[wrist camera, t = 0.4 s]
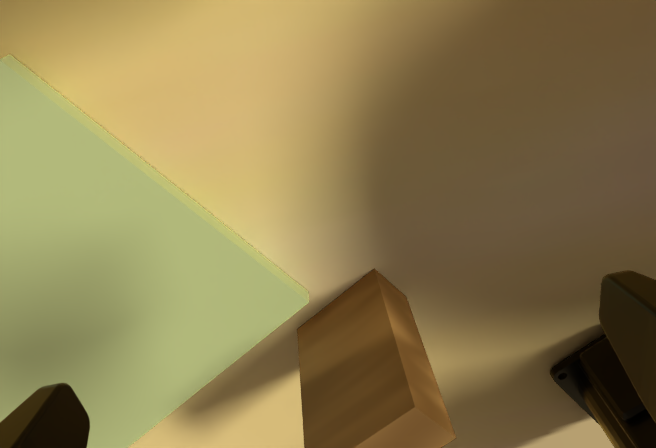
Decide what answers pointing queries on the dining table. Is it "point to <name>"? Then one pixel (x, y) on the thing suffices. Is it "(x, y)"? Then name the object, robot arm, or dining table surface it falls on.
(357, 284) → the walnut slab
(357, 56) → the dining table surface
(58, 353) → the felt mat
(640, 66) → the dining table surface
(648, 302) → the robot arm
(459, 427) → the dining table surface
